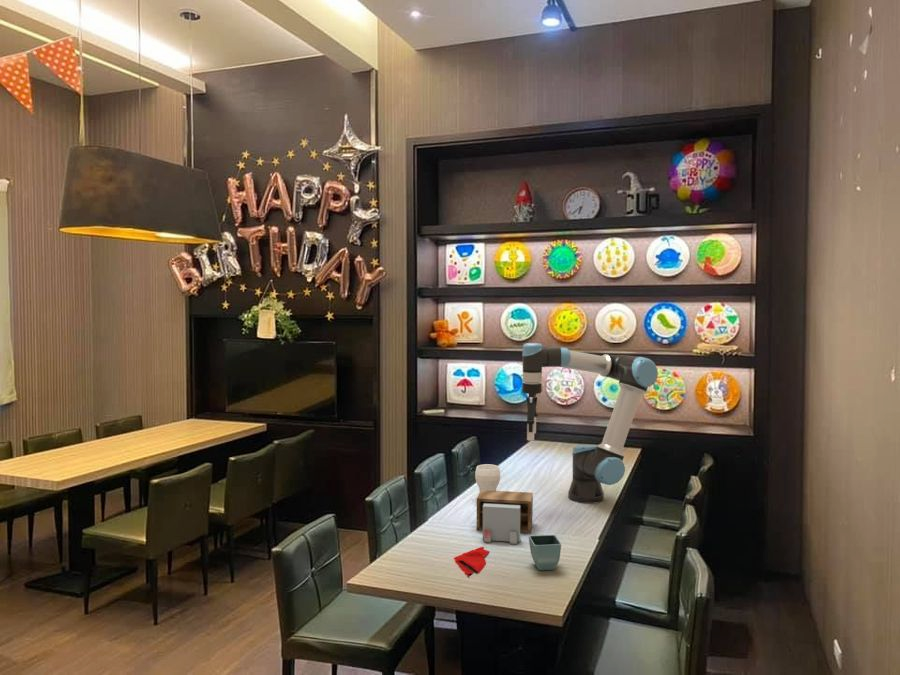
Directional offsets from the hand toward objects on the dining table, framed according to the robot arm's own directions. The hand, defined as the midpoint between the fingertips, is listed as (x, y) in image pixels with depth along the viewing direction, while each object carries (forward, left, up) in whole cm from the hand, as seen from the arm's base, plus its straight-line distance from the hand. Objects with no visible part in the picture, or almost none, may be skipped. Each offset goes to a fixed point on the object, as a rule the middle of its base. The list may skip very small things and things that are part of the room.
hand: (531, 436), depth 257 cm
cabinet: (+9, +14, -32) cm, 36 cm away
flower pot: (-7, +49, -32) cm, 59 cm away
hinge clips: (+9, +25, -32) cm, 42 cm away
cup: (+19, -15, -32) cm, 40 cm away
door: (+9, +28, -31) cm, 43 cm away
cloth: (+16, +48, -33) cm, 60 cm away
